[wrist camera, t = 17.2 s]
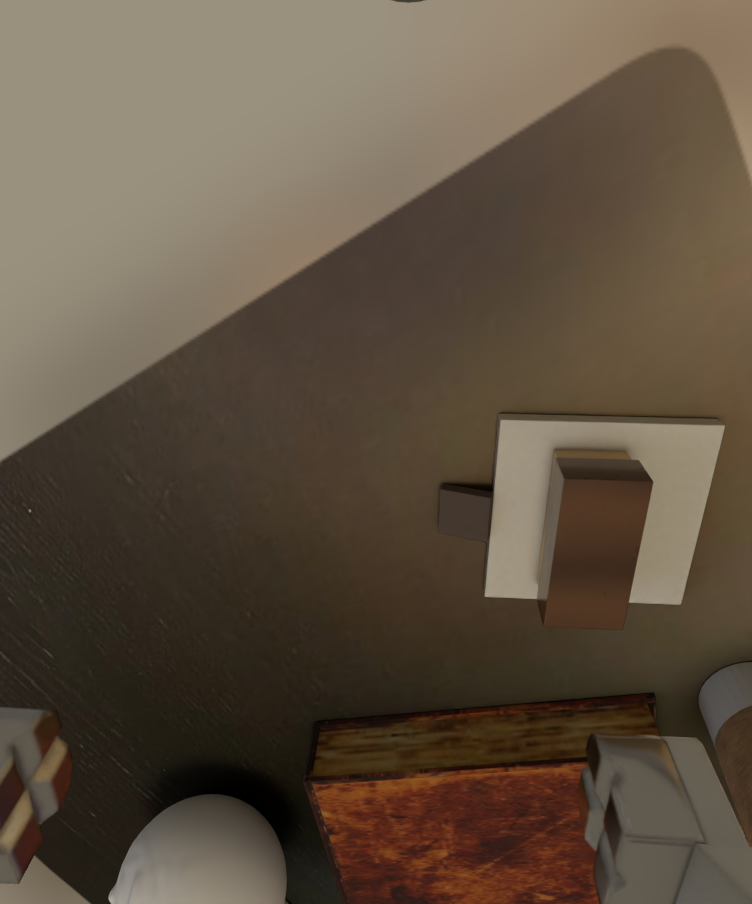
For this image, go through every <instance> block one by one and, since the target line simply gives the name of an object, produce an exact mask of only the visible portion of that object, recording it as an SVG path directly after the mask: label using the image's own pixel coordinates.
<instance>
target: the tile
mask: <svg viewBox="0 0 752 904" xmlns="http://www.w3.org/2000/svg"><path fill="white" fill-rule="evenodd" d="M724 429H725V425H724V424H723V423H722V422H721V421H720V420H719V419H698V418H658V417H618V416H578V415H538V414H499V416H498V428H497V439H496V451H495V462H494V474H493V485H492V492H493V493H494V494H493V505H492V516H491V528H490V536H489V539H488V542H487V554H486V565H485V576H484V594H485V597H502V598H527V599H537V593H538V585H537V574H538V566H539V559H540V551H541V543H542V536H543V528H544V520H545V513H546V505H547V497H548V490H549V482H550V474H551V467H552V459H553V451H554V449H563V450H598V451H626V452H627V453H628V454H629V456H630V457H631V459H632V460H639V461H640V462H641V464H642V465H643V467H644V468H645V470H646V471H647V473H648V474H649V476H650V477H651V479H652V480H653V487H652V492H651V497H650V502H649V507H648V511H647V516H646V521H645V526H644V531H643V536H642V540H641V545H640V550H639V555H638V560H637V565H636V570H635V574H634V579H633V584H632V589H631V594H630V599H629V603H650V604H674V605H681V602H682V598H683V594H684V590H685V586H686V582H687V578H688V574H689V570H690V566H691V562H692V558H693V554H694V550H695V546H696V542H697V538H698V534H699V530H700V526H701V522H702V518H703V513H704V509H705V505H706V501H707V497H708V493H709V489H710V485H711V481H712V477H713V473H714V469H715V465H716V461H717V457H718V453H719V449H720V445H721V441H722V437H723V433H724Z"/></svg>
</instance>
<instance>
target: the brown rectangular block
mask: <svg viewBox="0 0 752 904" xmlns="http://www.w3.org/2000/svg"><path fill="white" fill-rule="evenodd" d="M652 487H653V480H652V479H651V477H650V476H649V474H648V473H647V471H646V470H645V468H644V467H643V465H642V464H641V462H640V461H639V460H632V459H631V457H630V456H629V454H628V453H627V452H626V451H598V450H563V449H554V451H553V459H552V467H551V474H550V482H549V490H548V497H547V505H546V513H545V520H544V528H543V536H542V543H541V551H540V559H539V566H538V574H537V585H538V593H537V602H538V607H539V611H540V615H541V619H542V623H543V626H544V627H559V628H581V629H604V630H623V628H624V623H625V618H626V613H627V608H628V603H629V599H630V594H631V589H632V584H633V579H634V574H635V570H636V565H637V560H638V555H639V550H640V545H641V540H642V536H643V531H644V526H645V521H646V516H647V511H648V507H649V502H650V497H651V492H652Z"/></svg>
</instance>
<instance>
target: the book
mask: <svg viewBox="0 0 752 904" xmlns="http://www.w3.org/2000/svg"><path fill="white" fill-rule="evenodd" d="M591 733H600V734H630V735H657V736H659V737H660V734H659V731H658V729H657V726H656V698H655V695H654V693H650V694H638V695H626V696H614V697H602V698H590V699H578V700H567V701H555V702H543V703H531V704H519V705H507V706H495V707H483V708H472V709H460V710H448V711H436V712H424V713H412V714H400V715H388V716H376V717H365V718H353V719H341V720H329V721H322V722H320V723H319V722H315V726H314V728H313V730H312V736H311V741H310V746H309V752H308V757H307V762H306V768H305V773H304V778H303V783H304V786H305V789H306V792H307V795H308V798H309V801H310V804H311V807H312V811H313V814H314V817H315V820H316V823H317V826H318V829H319V832H320V835H321V838H322V841H323V844H324V847H325V850H326V853H327V856H328V859H329V862H330V865H331V868H332V871H333V874H334V877H335V880H336V883H337V886H338V890H339V893H340V896H341V899H342V902H343V904H599V900H598V895H597V891H596V887H595V882H594V878H593V874H592V868H593V863H594V859H595V854H596V851H595V850H594V849H593V848H592V847H591V846H590V845H589V844H588V843H587V842H586V840H585V838H584V834H583V829H582V824H581V818H580V811H579V782H580V775H581V771H582V770H583V769H584V768H586V767H587V766H588V765H589V763H588V759H587V755H586V751H585V749H586V745H587V740H588V738H589V736H590V735H591Z"/></svg>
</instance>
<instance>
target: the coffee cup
mask: <svg viewBox="0 0 752 904" xmlns="http://www.w3.org/2000/svg"><path fill="white" fill-rule="evenodd" d="M698 702H699V707H700V710H701V713H702V716H703V718H704V721H705V724H706V726H707V729H708V731H709V734H710V736H711V739H712V741H713V744H714V747H715V751H716V754H717V757H718V760H719V762H720V765H721V768H722V771H723V774H724V776H725V779H726V782H727V785H728V788H729V790H730V793H731V796H732V799H733V802H734V805H735V807H736V810H737V813H738V816H739V819H740V821H741V824H742V827H743V830H744V833H745V835H746V838H747V841H748V844H749V846H750V847H752V662H744V663H738V664H734V665H731V666H728V667H725V668H723V669H721V670H719V671H718V672H716V673H715V674H713V675H712V676H711V677H710V678H709V679H708V680H707V681H706V682H705V683H704V685H703V686H702V688H701V690H700V693H699V699H698Z"/></svg>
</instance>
